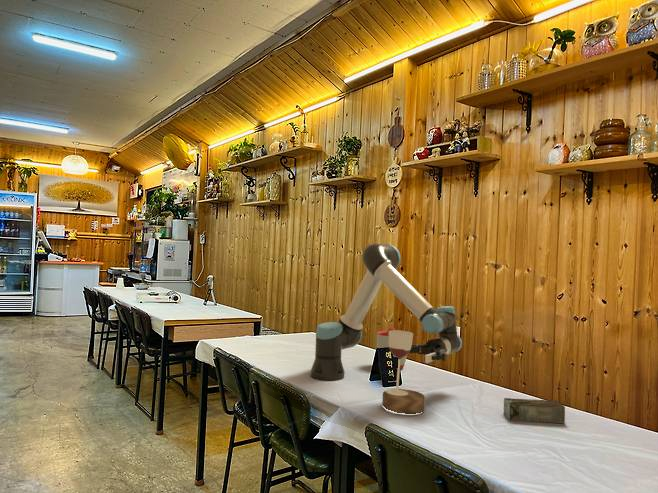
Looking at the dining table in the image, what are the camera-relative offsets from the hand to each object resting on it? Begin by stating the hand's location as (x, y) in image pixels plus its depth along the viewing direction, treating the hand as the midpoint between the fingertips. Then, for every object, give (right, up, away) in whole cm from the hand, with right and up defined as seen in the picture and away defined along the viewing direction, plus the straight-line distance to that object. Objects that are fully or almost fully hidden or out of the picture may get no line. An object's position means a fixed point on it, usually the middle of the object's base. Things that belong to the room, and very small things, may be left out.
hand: (409, 355), depth 178 cm
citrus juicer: (+2, -20, +61) cm, 64 cm away
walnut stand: (-3, -19, -2) cm, 19 cm away
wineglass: (-4, -14, +1) cm, 14 cm away
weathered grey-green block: (+42, -21, -7) cm, 48 cm away
